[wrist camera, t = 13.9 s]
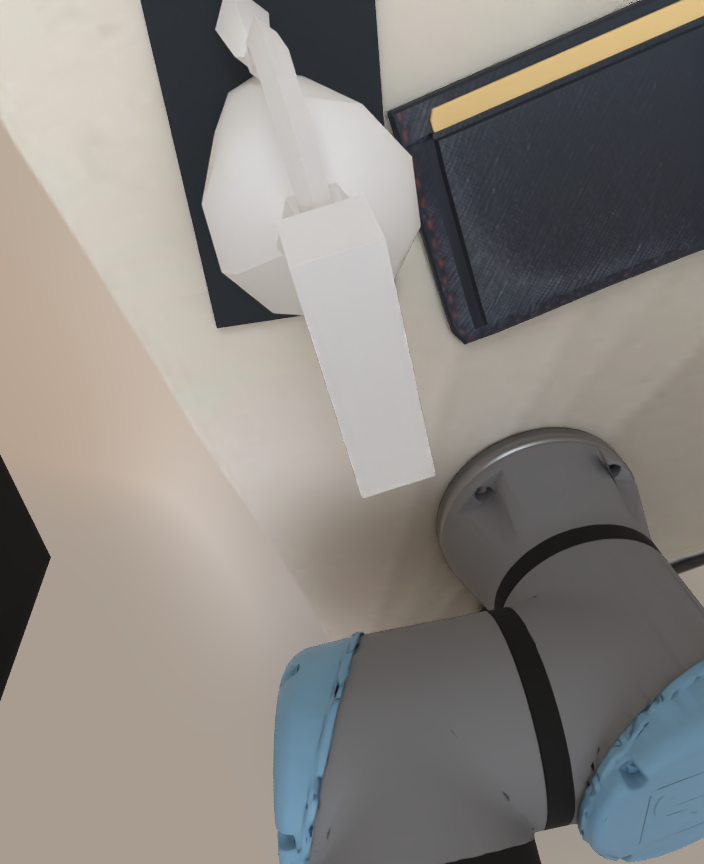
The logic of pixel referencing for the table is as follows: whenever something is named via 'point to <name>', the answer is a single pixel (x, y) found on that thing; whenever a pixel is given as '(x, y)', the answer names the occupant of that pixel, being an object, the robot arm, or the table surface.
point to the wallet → (562, 166)
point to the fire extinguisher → (322, 239)
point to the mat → (222, 72)
